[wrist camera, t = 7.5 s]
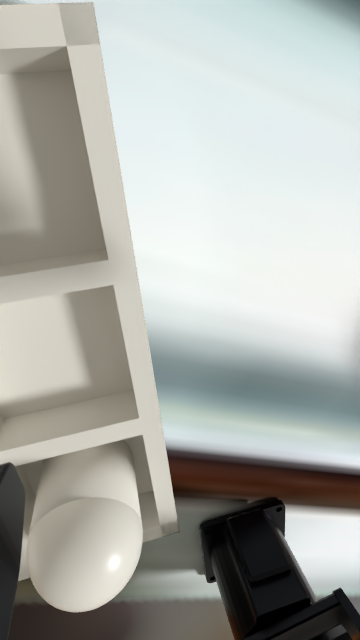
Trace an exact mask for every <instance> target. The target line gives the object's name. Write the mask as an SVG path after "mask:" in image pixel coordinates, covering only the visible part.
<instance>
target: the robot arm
mask: <svg viewBox="0 0 360 640" xmlns="http://www.w3.org/2000/svg"><path fill="white" fill-rule="evenodd" d="M25 498H26V497H25V489H24V486H23V484H22V482H21V479H20V477H19V475H18V473H17V470H16V468H15V466H14V465H13V464H12V463H10V462H7V463H3V464H0V640H7V639H8V634H9V628H10V623H11V617H12V612H13V606H14V601H15V595H16V590H17V584H18V578H19V572H20V563H21V551H22V538H23V525H24V512H25ZM199 530H200V538H201V546H202V554H203V562H204V570H205V576H206V580H207V582H208V583H213V582H216V581H217V585H218V588H219V591H220V594H221V598H222V601H223V604H224V607H225V611H226V614H227V617H228V620H229V623H230V627H231V630H232V633H233V636H234V640H360V615H359V613H358V612H357V610H356V609H355V608H354V606H353V605H352V603H351V602H350V600H349V599H348V597H347V596H346V595H345V593H344V592H343V590H342V589H341V588H338V589H336V590H334V591H333V594H331V595H329V596H327V597H325V598H323V599H321V600H319V601H318V600H317V598H316V596H315V594H314V592H313V591H312V589H311V587H310V585H309V583H308V581H307V579H306V577H305V576H304V574H303V572H302V570H301V568H300V566H299V564H298V563H297V561H296V559H295V557H294V555H293V553H292V551H291V549H290V548H289V546H288V544H287V542H286V540H285V538H284V537H285V505H284V504H283V502H282V501H281V500H276V501H272V502H269V503H266V504H262V505H259V506H256V507H252V508H249V509H246V510H243V511H239V512H236V513H233V514H229V515H226V516H223V517H220V518H216V519H213V520H210V521H206V522H204V523H202V524H201V525H200V527H199Z"/></svg>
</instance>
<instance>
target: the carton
mask: <svg viewBox="0 0 360 640" xmlns="http://www.w3.org/2000/svg"><path fill="white" fill-rule="evenodd" d="M7 462H10V463H12V464H13V465H14V466H15V468H16V470H17V473H18V475H19V477H20V479H21V482H22V484H23V486H24V489H25V497H26V498H25V512H24V525H23V538H22V551H21V563H20V572H19V578H18V581H20V580H24V579H27V578H31V580H32V583H33V585H34V587H35V588H36V590H37V592H38V593H39V594H40V596H41V597H42V598H43V599H44V600H45V601H46V602H48V603H49V604H51V605H52V606H54V607H56V608H58V609H61V610H65V611H69V612H84V611H89V610H92V609H95V608H98V607H100V606H102V605H104V604H105V603H107V602H108V601H110V600H111V599H113V598H114V597H115V596H116V595H117V594H118V593H119V592H120V591H121V590H122V589H123V588H124V587H125V585H126V584H127V582H128V581H129V580H130V578H131V576H132V575H133V573H134V571H135V569H136V566H137V564H138V561H139V558H140V554H141V549H142V543H145V542H148V541H151V540H155V539H158V538H161V537H165V536H168V535H171V534H174V533H178V532H179V526H178V520H177V514H176V508H175V502H174V496H173V490H172V483H171V477H170V471H169V465H168V459H167V453H166V447H165V440H164V434H163V428H162V422H161V416H160V410H159V404H158V397H157V391H156V385H155V379H154V373H153V367H152V361H151V354H150V348H149V342H148V336H147V330H146V324H145V318H144V311H143V305H142V299H141V293H140V287H139V281H138V275H137V268H136V262H135V256H134V250H133V244H132V238H131V232H130V225H129V219H128V213H127V207H126V201H125V195H124V189H123V182H122V176H121V170H120V164H119V158H118V152H117V146H116V139H115V133H114V127H113V121H112V115H111V109H110V102H109V96H108V90H107V84H106V78H105V72H104V66H103V59H102V53H101V47H100V41H99V35H98V29H97V23H96V16H95V10H94V4H93V2H92V3H53V4H15V5H0V464H3V463H7Z"/></svg>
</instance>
